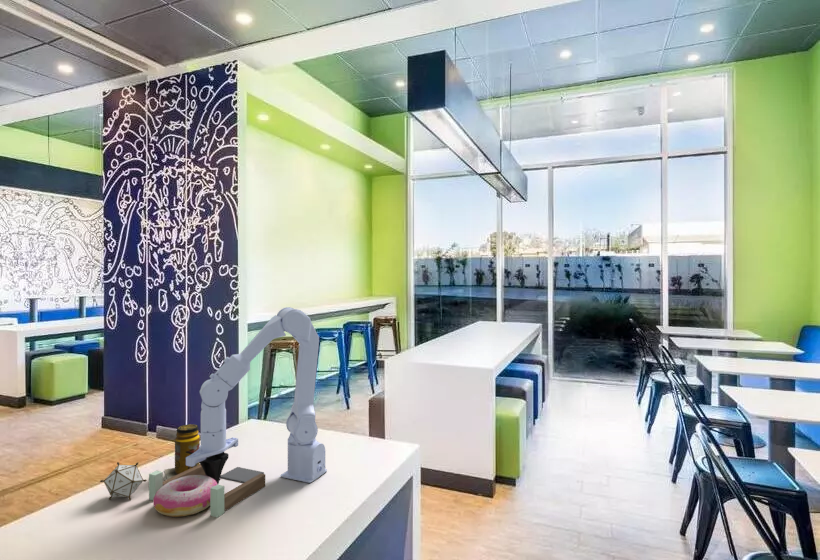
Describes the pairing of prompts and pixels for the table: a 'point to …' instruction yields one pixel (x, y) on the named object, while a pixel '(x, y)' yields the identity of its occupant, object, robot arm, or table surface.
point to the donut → (184, 496)
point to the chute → (212, 489)
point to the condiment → (184, 448)
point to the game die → (123, 481)
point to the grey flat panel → (240, 474)
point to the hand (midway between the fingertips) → (213, 485)
